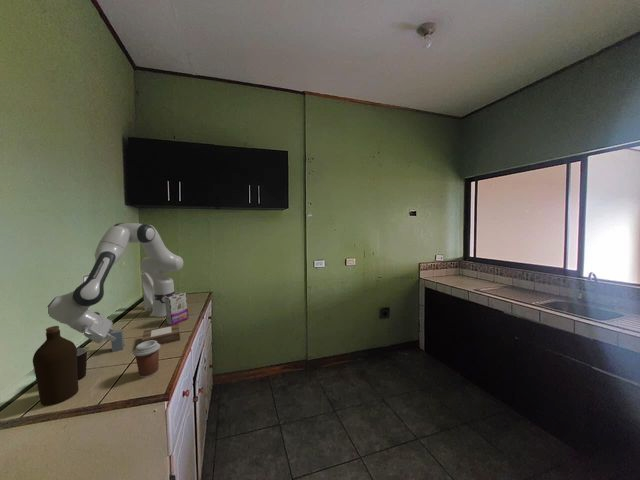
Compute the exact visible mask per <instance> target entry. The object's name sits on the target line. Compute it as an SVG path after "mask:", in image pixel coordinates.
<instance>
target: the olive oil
mask: <svg viewBox="0 0 640 480" xmlns="http://www.w3.org/2000/svg"><path fill="white" fill-rule="evenodd" d="M45 331H46V332H45V338H46V340H45V341H44V342H43V343H42V344H41V345H40V346H39V347H38V348H37V349H36V351H35V352H34V354H33V356H32V366H33V370H34V375H35V381H36V385H37V390H38V396H39V403H40V405H41V406H45V407H49V406H53V405H58V404H59V403H63V402H65V401H68V400H69V399H71V398H73V397H74V396H75V395H76V394H77V393H78V392H79V389H80V388H79V380H78V370H77V349H78V348H77V346H76V344H75V343H74V342H73V341H72V340H69V339H67V338H64V337H63V336H61V329H60V326H59V325H53V326H49V327H47V328H46V329H45Z"/></svg>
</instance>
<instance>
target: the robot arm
mask: <svg viewBox="0 0 640 480" xmlns="http://www.w3.org/2000/svg"><path fill="white" fill-rule="evenodd" d="M128 243H131V244H133V243H134V244H135V243H140V245H141V247H142V249H143V251H144V253H145V254H146V256H148V257H143V258H142V260H141V262H140V269H141V270H143V271H142V272H143V273H145V272H146V273H147V274H148V275H149V276H150V277H151V279H152V280H153V283H154V284H153V289H154V298H155V301H154V302H153V303H152V306H153V309H152V311H151V313H150V314H149V317H155V318H159V317H167V316H166V306H165V298H167V297H170V296H173V295H176V291H175V284H174V280H173V278H171V277H170V276H167V274H166V273H174V272H177V271H181V270H182V269H183V267H184V259H183V258H182V257H181V256H179V255H177V254H175V253H173V252H171V251H170V250H169V249H168V248H167V246H166V245H165V243H164V241H163V239H162V237H161V235H160V234H159V232H158V231H157V229H156V228H155V226H153V225H150V224H145V223H144V224H143V223H138V222H128V223H127V222H118V223H116V224H114V225H113V226H111V227H109V228H108V229H107V230H106V232H105V233H104V235H102V236H101V239H100V240H99V242H98V244H97V246H96V248H95V251H94V258H95V262H94V265H93V267H92V269H91V271H89V272H90V273H89V274H88V276H87V278H86V280H84V282H82V283H81V284H80V285H78V286H77V287H76V288H75V290H73V291H71V292H67V293H66V294H63V295H59V296H55V297H54V298H53V299H52V300H51V301H50V302H49V304H48V305H47V307H48V314H49V316H48V317H49V318H51V319H53V320H54V321H57V323H58V322H59V323H61V324H64V325H66V326H68V327H70V329H73V330H75V331H76V332H79V333H81V334H83V335H84V337H86V338H87V339H89V340H90V341H92V342H93V343H96V344H100V343H101V342H103V341H104V340H106V341H110V342H111V341H113V342H114V341H115V340H116V337H115V336H111V332H112V331H114V330H115V329H114V328H112V326H113V324H114V323H113V321H112V320H110V319H109V318H107V317H105V316H104V315H101V313H100V312H99V311H91V310H90V309H89V308H90V307H91V306H94V305H96V304H98V303H99V302H101V301H102V299H103V298H104V295H105V289H104V285H105V282H106V280H107V277H108V275H109V273H110V272H111V269H112V267H113V266H114V265H115V264H116V263H117V262H118V261H119V260H120V259H121V257H122V256H123V255H124V253H125V251H126V248H127V247H128Z"/></svg>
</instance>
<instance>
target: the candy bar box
mask: <svg viewBox="0 0 640 480" xmlns="http://www.w3.org/2000/svg"><path fill="white" fill-rule="evenodd" d="M187 300H188V299H187V293H185V292H180V293H175V295H173V296H170V297H167V298H165V306H166V316H165V317H166V325H167V326H170V325H175V324H179V323H181V322H184V321H187V320H188V319H189V309H188V301H187Z"/></svg>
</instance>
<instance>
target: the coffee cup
mask: <svg viewBox="0 0 640 480" xmlns="http://www.w3.org/2000/svg"><path fill="white" fill-rule="evenodd" d="M160 349H161V345H160V344H159V343H157V341H155V340H150V341H145V342H142V341H141V343H138V344H137V345H136V346H135V349H134V350H133V351H132V354H133V356H135V361H136V364H137V365H136V366H137V370H138V376H139V378H141V379H146V378H151V377H153V376H155V375H156V374H158V373H159V370H160V369H159V360H160V359H159V356H160V354H159V353H160V352H159V351H160Z"/></svg>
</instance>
